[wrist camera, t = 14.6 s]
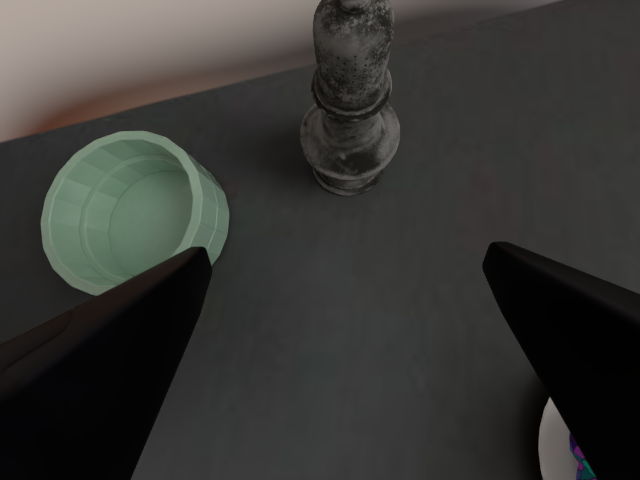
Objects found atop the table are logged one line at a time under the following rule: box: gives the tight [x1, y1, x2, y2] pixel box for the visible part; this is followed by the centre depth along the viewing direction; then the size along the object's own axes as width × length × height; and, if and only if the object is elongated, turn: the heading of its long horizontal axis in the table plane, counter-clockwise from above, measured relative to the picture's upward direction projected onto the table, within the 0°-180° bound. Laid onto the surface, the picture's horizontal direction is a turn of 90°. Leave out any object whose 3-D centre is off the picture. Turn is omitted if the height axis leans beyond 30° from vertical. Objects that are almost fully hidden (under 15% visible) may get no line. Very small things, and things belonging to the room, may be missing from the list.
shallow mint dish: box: [40, 131, 229, 296], centre depth 18 cm, size 10×10×4 cm
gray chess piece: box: [300, 0, 400, 196], centre depth 13 cm, size 6×6×12 cm
